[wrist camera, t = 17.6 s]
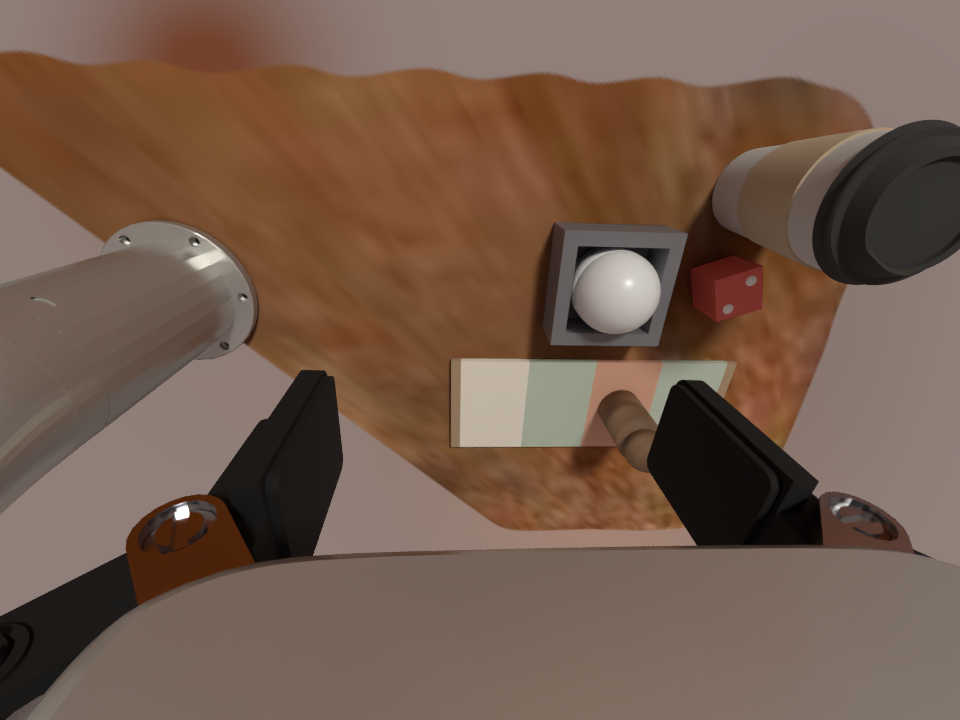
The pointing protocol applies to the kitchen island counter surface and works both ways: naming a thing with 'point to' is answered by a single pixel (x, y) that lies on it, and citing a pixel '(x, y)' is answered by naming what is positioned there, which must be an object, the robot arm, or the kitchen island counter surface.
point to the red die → (727, 288)
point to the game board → (560, 397)
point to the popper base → (579, 238)
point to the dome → (614, 289)
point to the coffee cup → (851, 200)
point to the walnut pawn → (629, 426)
